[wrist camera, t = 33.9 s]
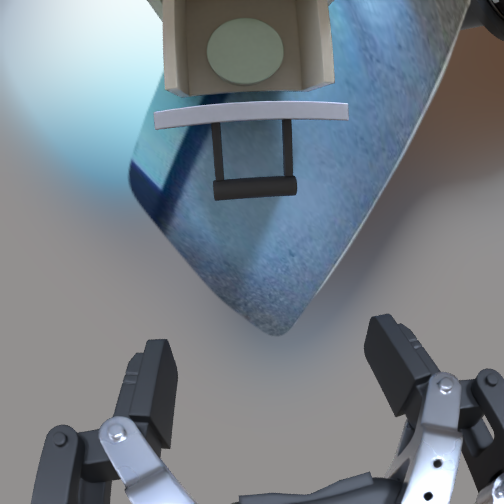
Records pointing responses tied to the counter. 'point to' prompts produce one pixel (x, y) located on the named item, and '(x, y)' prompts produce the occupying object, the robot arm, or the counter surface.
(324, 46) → the drawer
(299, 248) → the counter surface
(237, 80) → the pale green disc
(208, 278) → the counter surface
